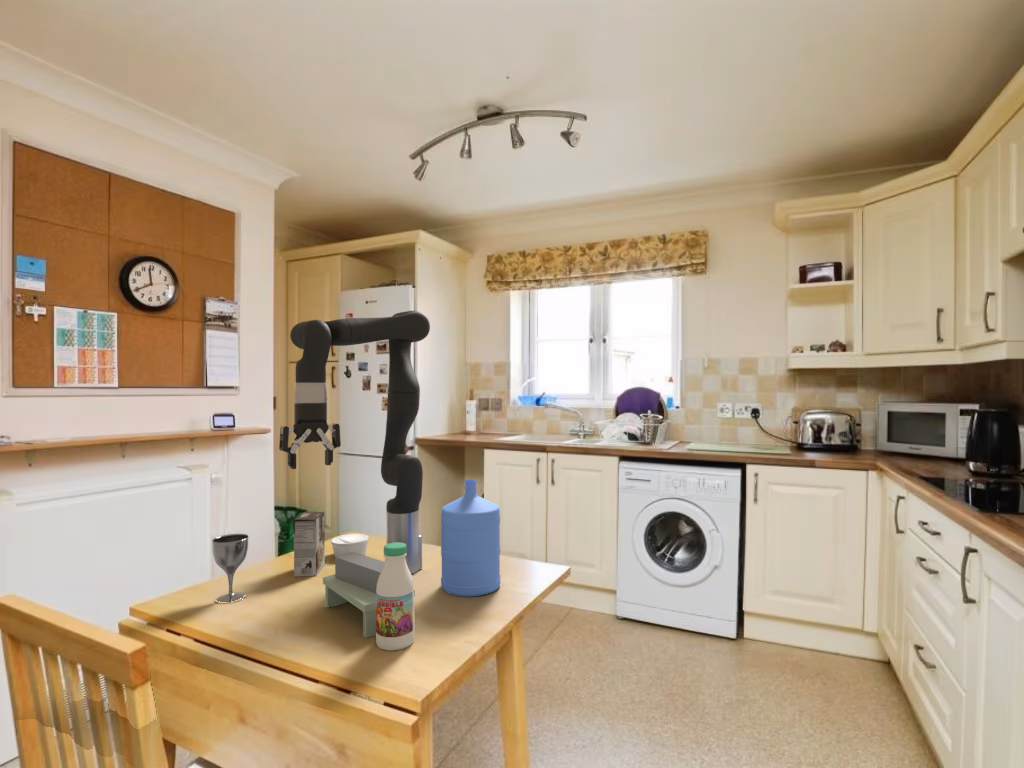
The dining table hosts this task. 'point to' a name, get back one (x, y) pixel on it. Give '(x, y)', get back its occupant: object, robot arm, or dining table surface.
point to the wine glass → (230, 559)
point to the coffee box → (309, 543)
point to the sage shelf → (352, 600)
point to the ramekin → (350, 544)
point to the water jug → (470, 545)
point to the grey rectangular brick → (358, 570)
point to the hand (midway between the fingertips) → (310, 466)
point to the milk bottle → (395, 600)
